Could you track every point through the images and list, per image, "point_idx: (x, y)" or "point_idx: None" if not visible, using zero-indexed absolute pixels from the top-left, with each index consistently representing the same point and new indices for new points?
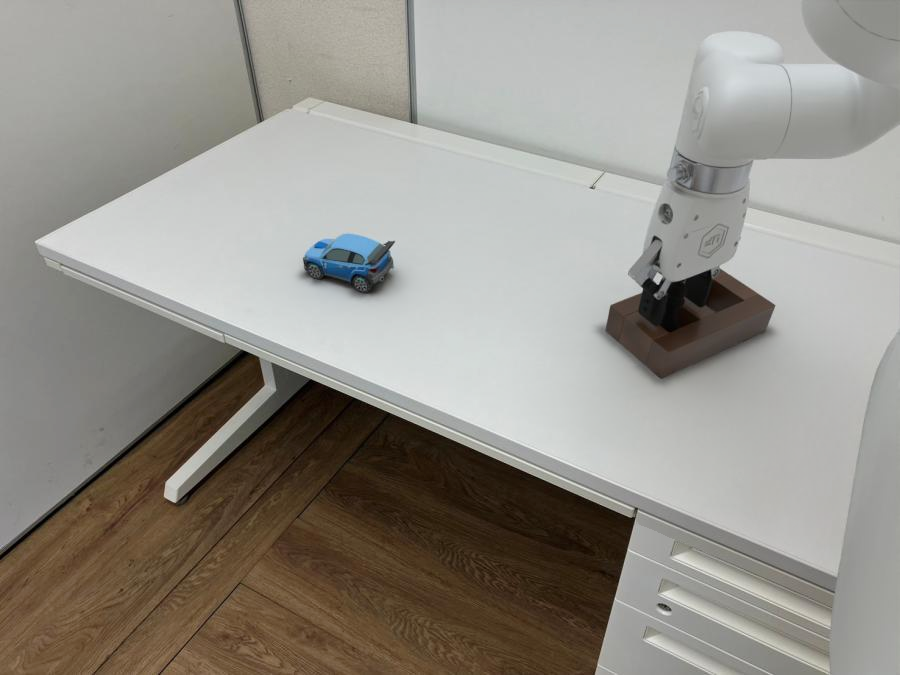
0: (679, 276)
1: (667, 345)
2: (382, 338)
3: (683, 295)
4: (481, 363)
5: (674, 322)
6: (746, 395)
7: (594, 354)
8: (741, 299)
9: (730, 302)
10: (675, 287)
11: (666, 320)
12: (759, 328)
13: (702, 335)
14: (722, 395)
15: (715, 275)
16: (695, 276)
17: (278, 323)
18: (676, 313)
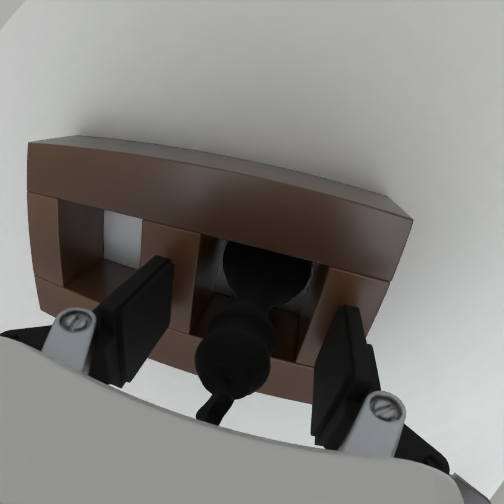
0: (423, 492)
1: (388, 239)
2: (484, 461)
3: (242, 338)
4: (493, 404)
5: (258, 279)
6: (283, 30)
7: (404, 333)
8: (59, 206)
9: (77, 223)
10: (250, 383)
11: (272, 298)
12: (85, 138)
13: (263, 186)
14: (328, 64)
15: (79, 311)
16: (130, 353)
17: (488, 488)
18: (249, 296)
